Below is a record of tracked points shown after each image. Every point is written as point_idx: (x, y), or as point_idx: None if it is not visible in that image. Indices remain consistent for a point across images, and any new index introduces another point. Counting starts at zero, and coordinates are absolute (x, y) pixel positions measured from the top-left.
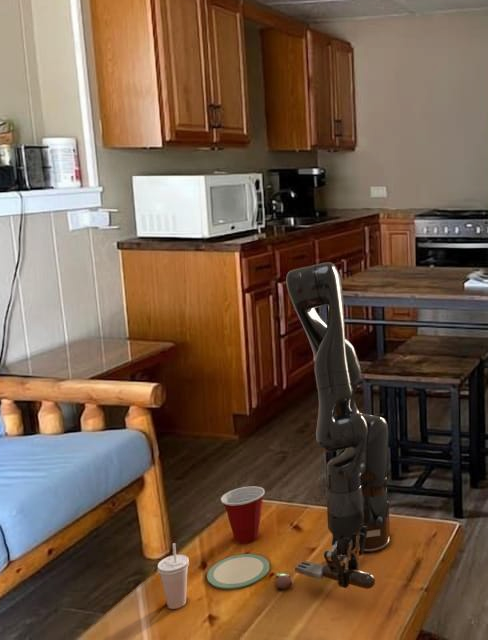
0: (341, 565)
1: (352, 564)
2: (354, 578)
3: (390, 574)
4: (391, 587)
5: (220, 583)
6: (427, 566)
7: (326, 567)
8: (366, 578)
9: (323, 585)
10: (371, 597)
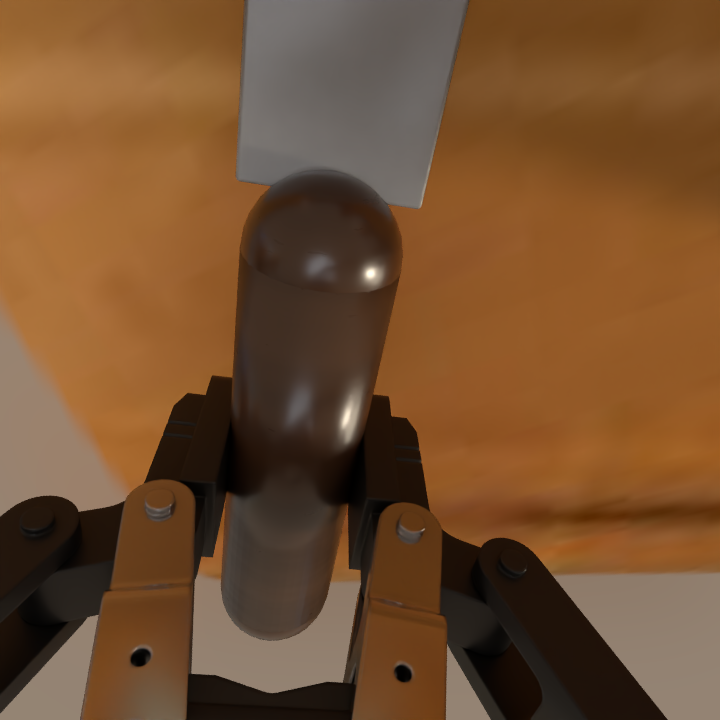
0: (29, 680)
1: (355, 529)
2: (229, 540)
3: (642, 425)
4: (509, 466)
5: None
6: (712, 549)
7: (266, 283)
8: (236, 623)
9: (479, 19)
10: (396, 409)
